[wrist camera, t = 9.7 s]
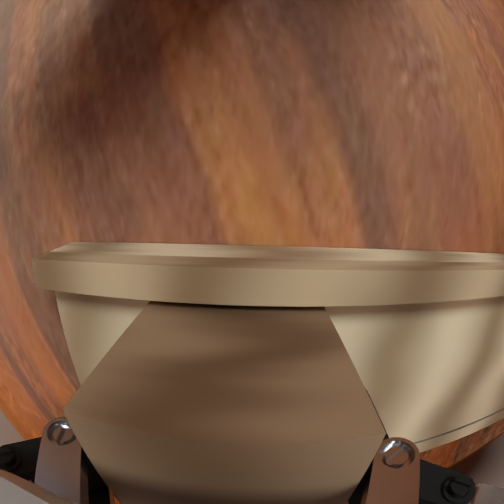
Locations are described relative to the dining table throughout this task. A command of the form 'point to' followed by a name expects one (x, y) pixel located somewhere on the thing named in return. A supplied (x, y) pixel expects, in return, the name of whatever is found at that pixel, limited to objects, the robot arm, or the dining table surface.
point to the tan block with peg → (227, 408)
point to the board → (313, 295)
